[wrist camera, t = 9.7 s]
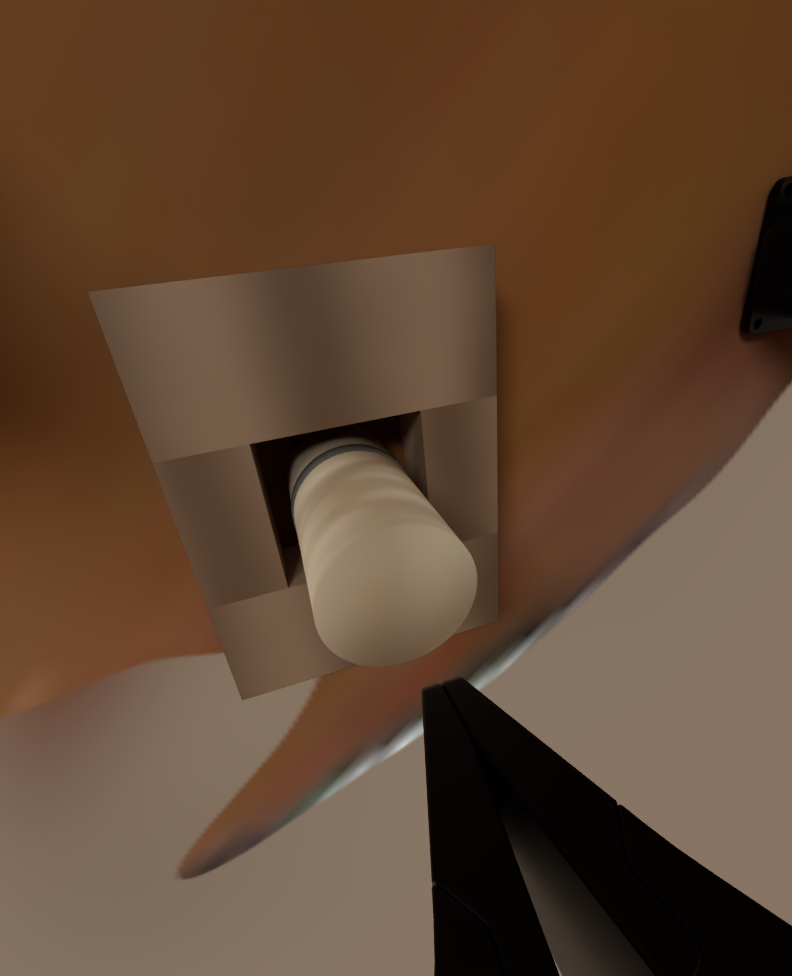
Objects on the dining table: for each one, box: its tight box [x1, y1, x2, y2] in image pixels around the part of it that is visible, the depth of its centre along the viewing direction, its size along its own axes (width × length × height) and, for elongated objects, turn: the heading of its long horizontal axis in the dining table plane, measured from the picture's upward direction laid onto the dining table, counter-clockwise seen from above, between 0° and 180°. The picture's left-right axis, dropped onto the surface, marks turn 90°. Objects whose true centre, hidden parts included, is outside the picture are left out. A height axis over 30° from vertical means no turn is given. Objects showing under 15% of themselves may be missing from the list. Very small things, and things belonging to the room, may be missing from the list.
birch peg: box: [286, 424, 477, 667], centre depth 16 cm, size 4×4×9 cm
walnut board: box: [88, 244, 499, 700], centre depth 18 cm, size 12×16×3 cm
